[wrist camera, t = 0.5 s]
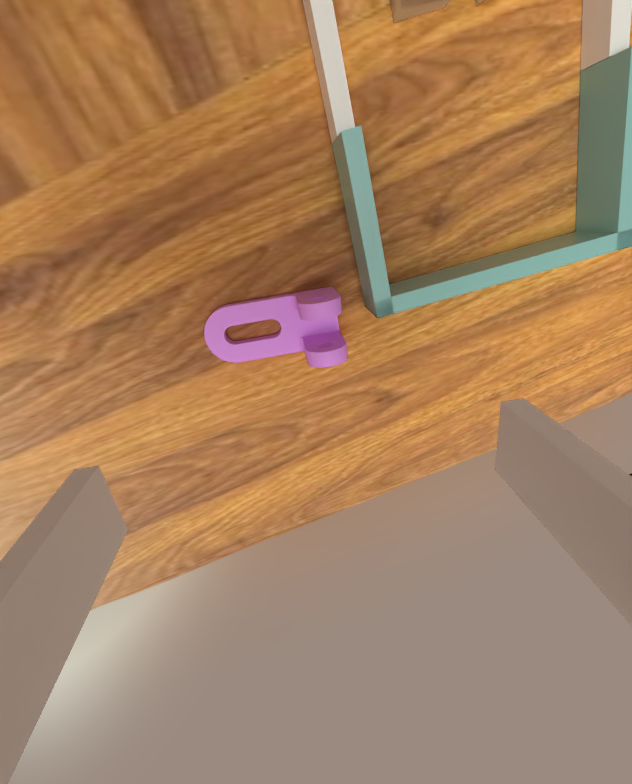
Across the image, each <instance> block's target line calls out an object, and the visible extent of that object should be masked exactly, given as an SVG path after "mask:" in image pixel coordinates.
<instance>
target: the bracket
mask: <svg viewBox="0 0 632 784" xmlns="http://www.w3.org/2000/svg"><path fill="white" fill-rule="evenodd" d="M341 313H342V305H341V297H340V294H339V293H338V292H337V291H336V290H335V289H334V288H333V287H332V286H331V287H326V288H320V289H314V290H308V291H302V292H296V293H291V294H285V295H279V296H273V297H267V298H262V299H256V300H250V301H244V302H238V303H232V304H227V305H224V306H221V307H219V308H218V309H216V310H215V311H214V312H213V313H212V314H211V316H210V317H209V319H208V320H207V322H206V325H205V329H204V336H205V341H206V344H207V346H208V348H209V349H210V350H211V352H212V353H213V354H214V355H216V356H217V357H218V358H220V359H222V360H224V361H227V362H233V363H238V362H244V361H250V360H256V359H261V358H267V357H273V356H278V355H284V354H290V353H295V352H305V354H306V358H307V363H308V365H310V366H312V367H319V368H323V367H331V366H335V365H339V364H341V363H343V362H345V361H346V360H347V359H348V354H347V346H346V341H345V339H344V338H343V336H342V334H341V333H340V331H339V323H338V315H340V314H341ZM269 319H274V320H277V321H278V322H279V323H280V325H281V329H280V331H279V332H278V333H277V334H274V335H268V336H263V337H257V338H251V339H245V340H240V341H233V340H230V339H229V338H228V337H227V335H226V329H227V328H228V327H230V326H234V325H240V324H246V323H252V322H258V321H263V320H269Z"/></svg>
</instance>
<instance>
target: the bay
mask: <svg viewBox="0 0 632 784" xmlns="http://www.w3.org/2000/svg"><path fill="white" fill-rule="evenodd" d="M332 147H333V151H334V156H335V161H336V166H337V171H338V176H339V181H340V186H341V190H342V195H343V200H344V205H345V210H346V215H347V220H348V224H349V229H350V234H351V239H352V244H353V249H354V254H355V259H356V263H357V268H358V273H359V278H360V283H361V288H362V293H363V298H364V302H365V307H366V308H367V309H368V310H369V311H370V312H371V313H373V314H374V315H375V316H376V317H377V318H380V317H384V316H387V315H391V314H394V313H398V312H401V311H405V310H408V309H412V308H415V307H419V306H422V305H426V304H430V303H433V302H437V301H440V300H444V299H447V298H451V297H454V296H458V295H461V294H465V293H468V292H472V291H476V290H479V289H483V288H486V287H490V286H493V285H497V284H500V283H504V282H507V281H511V280H515V279H518V278H522V277H525V276H529V275H532V274H536V273H539V272H543V271H546V270H550V269H553V268H557V267H561V266H564V265H568V264H571V263H575V262H578V261H582V260H585V259H589V258H592V257H596V256H599V255H603V254H607V253H610V252H614V251H617V250H621V249H624V248H628V247H631V246H632V46H631V47H629V48H627V49H625V50H623V51H621V52H619V53H617V54H615V55H613V56H611V57H609V58H607V59H605V60H603V61H601V62H599V63H597V64H595V65H593V66H591V67H589V68H587V69H585V70H583V71H581V74H580V107H579V139H578V172H577V205H576V231H575V232H572V233H568V234H565V235H561V236H558V237H554V238H551V239H547V240H544V241H540V242H537V243H533V244H530V245H526V246H523V247H519V248H516V249H512V250H509V251H505V252H502V253H498V254H495V255H491V256H487V257H484V258H480V259H477V260H473V261H470V262H466V263H463V264H459V265H456V266H452V267H449V268H445V269H442V270H438V271H435V272H431V273H428V274H424V275H421V276H417V277H414V278H410V279H407V280H403V281H399V282H396V283H392V284H389V282H388V277H387V271H386V265H385V259H384V254H383V248H382V242H381V236H380V231H379V225H378V219H377V213H376V208H375V202H374V196H373V190H372V185H371V179H370V173H369V168H368V162H367V156H366V150H365V145H364V139H363V133H362V127H361V126H357V127H354V128H351V129H347V130H344V131H341V132H340V134H339V135H338V137H337V138H336V139H335V141H334V142H333V144H332Z"/></svg>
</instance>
